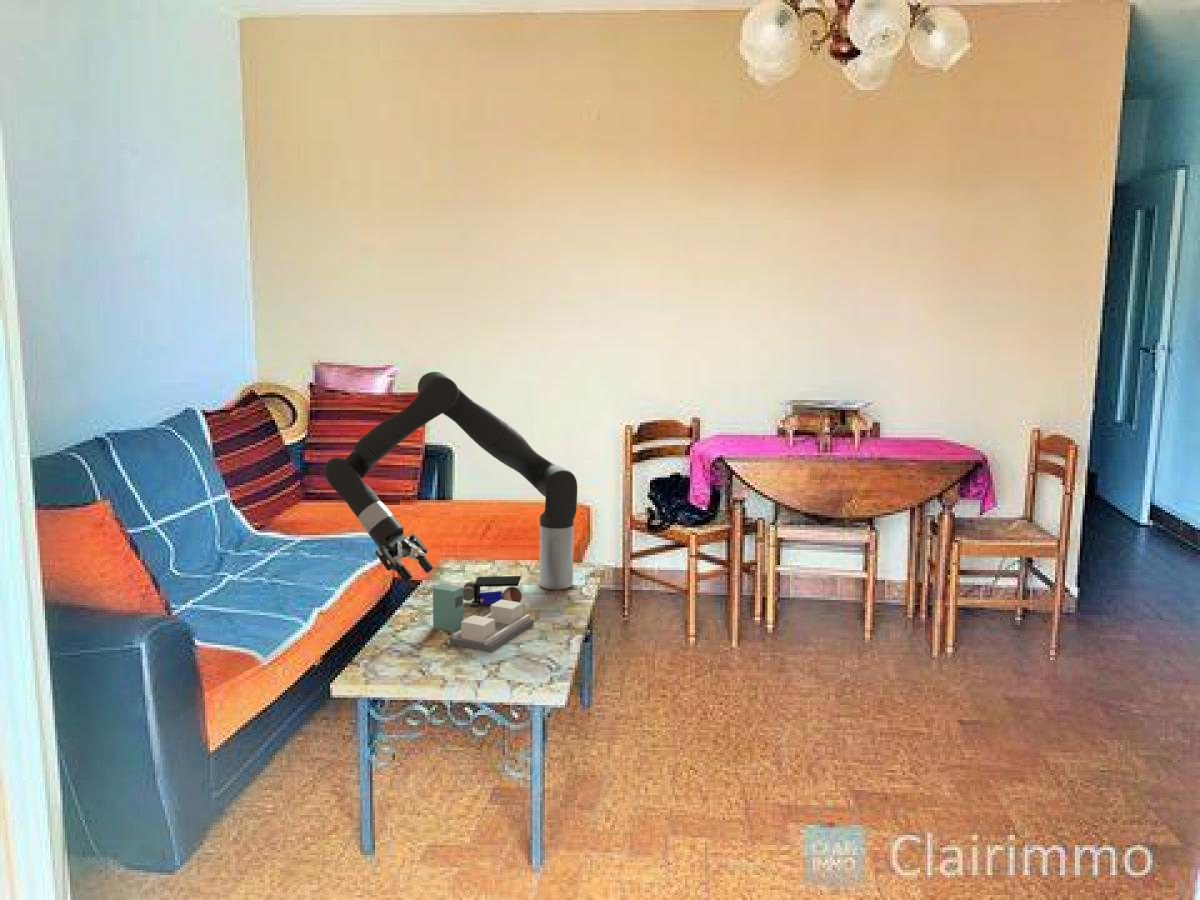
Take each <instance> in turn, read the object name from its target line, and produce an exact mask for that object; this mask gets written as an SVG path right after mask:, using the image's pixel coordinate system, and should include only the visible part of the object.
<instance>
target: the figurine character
mask: <svg viewBox="0 0 1200 900" xmlns="http://www.w3.org/2000/svg"><path fill="white" fill-rule="evenodd" d="M521 579H522V578H521V575H504V576H503V575H500V576H497V575H496V576H478V577H476V580H475V582H474V581H468V582H466V583H465V584H464V586H463V601H464V600H465V602H466V601H467V602H469V601H470V602H471V603H472V604H470V605H469V607H481V606H484V605H492V604H494V603H496V602H497V601H499V600H501V599H502V600H508V601H514V602H519V603H521V601H522V597H523V596H522V592H521V590H520V589H519V584H520V581H521ZM481 587H483V588H485V587H490V588H491V587H507V588H506V589H504V591H503V592H502V591H501V590H498V591H497V590H496V591H488V592H485V591H484V592H481ZM517 587H518V588H517Z"/></svg>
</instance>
